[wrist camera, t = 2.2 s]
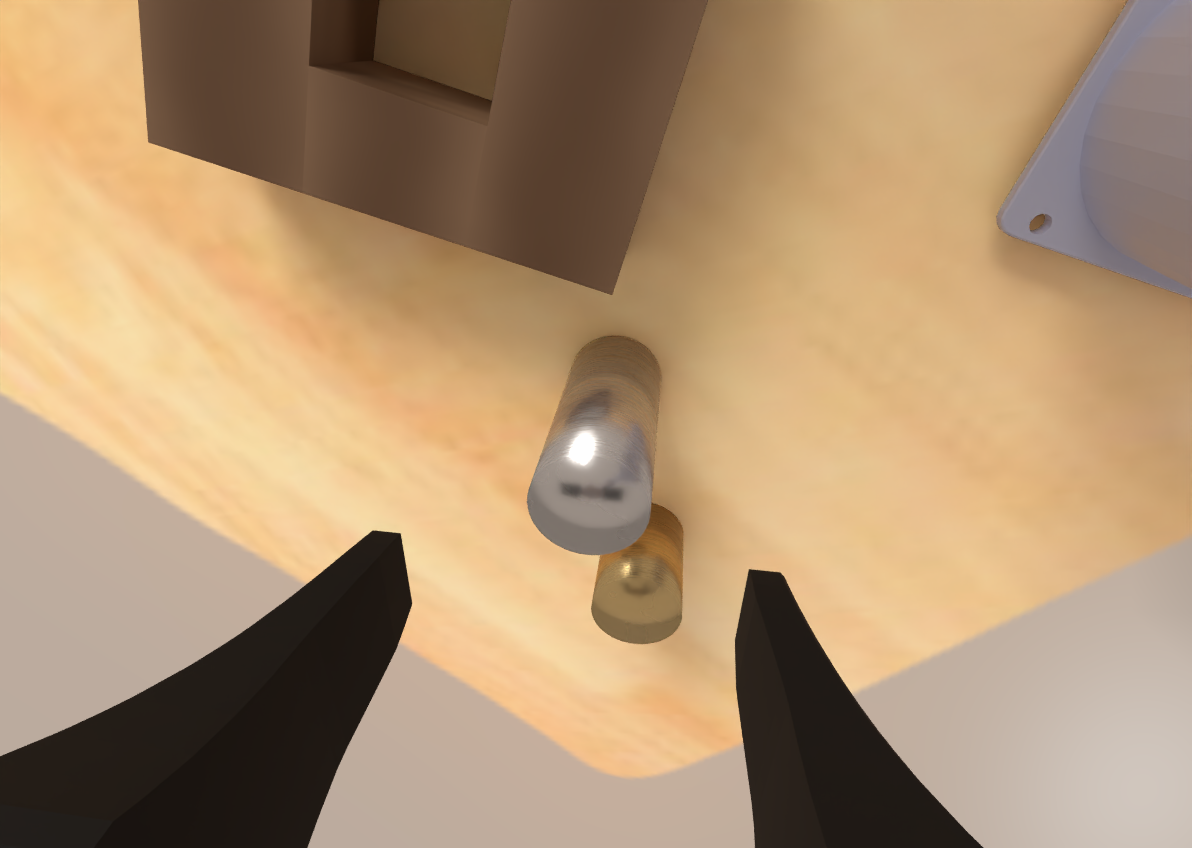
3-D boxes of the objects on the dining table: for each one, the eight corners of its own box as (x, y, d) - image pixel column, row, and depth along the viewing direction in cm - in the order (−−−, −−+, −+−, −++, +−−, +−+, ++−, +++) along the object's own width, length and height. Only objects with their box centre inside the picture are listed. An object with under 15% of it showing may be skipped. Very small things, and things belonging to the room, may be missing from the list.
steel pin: (674, 352, 21) (668, 479, 15) (644, 427, 23) (628, 569, 17) (585, 323, 21) (543, 439, 15) (561, 401, 22) (515, 534, 16)
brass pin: (694, 516, 24) (695, 595, 21) (667, 572, 26) (664, 654, 22) (618, 492, 24) (606, 567, 21) (595, 549, 26) (581, 628, 22)
